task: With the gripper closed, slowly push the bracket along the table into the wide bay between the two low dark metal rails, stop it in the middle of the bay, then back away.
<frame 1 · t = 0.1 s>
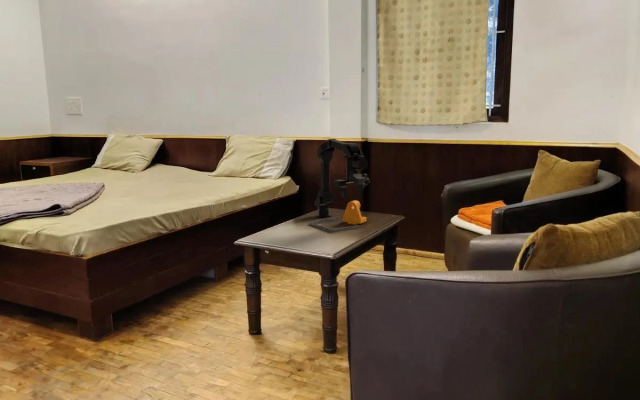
hand: (352, 198, 262), 15 cm above the table, tool pointing down, fingers open, 9 cm apart
bracket: (355, 222, 272), on the table
rail bay: (334, 225, 266), on the table
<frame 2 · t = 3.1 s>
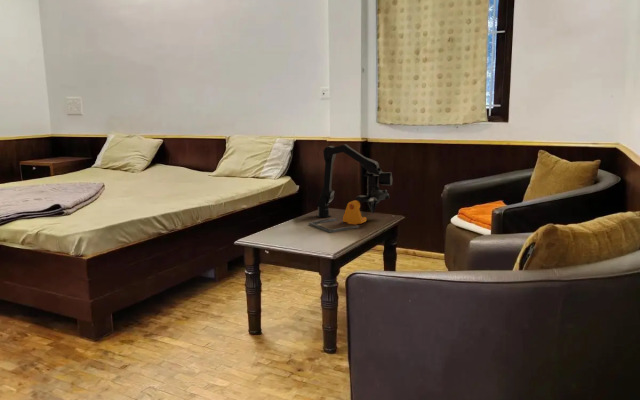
hand: (372, 212, 278), 4 cm above the table, tool pointing down, fingers closed
nothing on the table moved.
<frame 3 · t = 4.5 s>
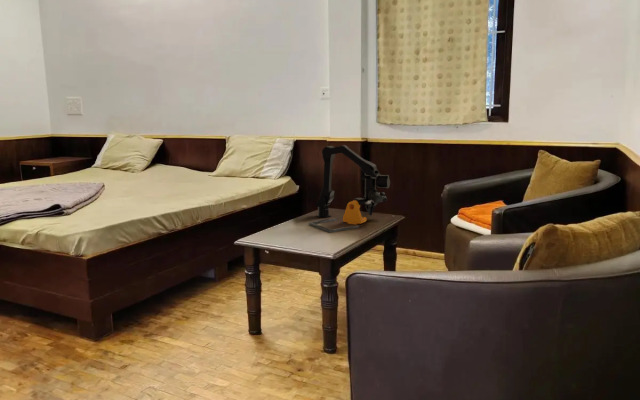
hand: (370, 215, 277), 2 cm above the table, tool pointing down, fingers closed
nothing on the table moved.
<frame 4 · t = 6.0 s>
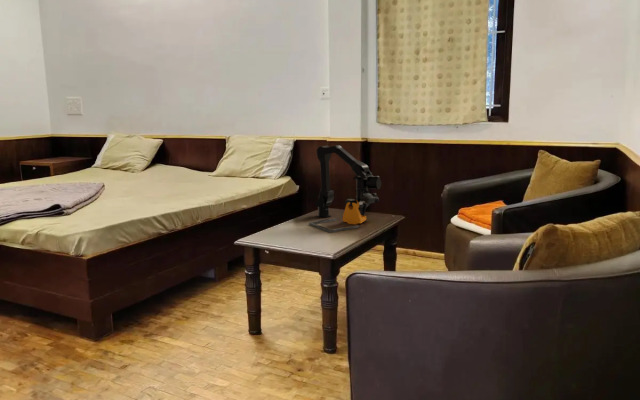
hand: (362, 216, 274), 3 cm above the table, tool pointing down, fingers closed, pressing on bracket
bracket: (355, 222, 272), on the table, touching gripper
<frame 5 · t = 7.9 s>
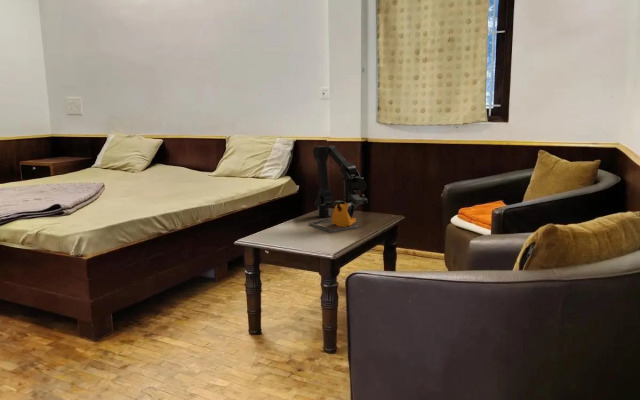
hand: (350, 218, 270), 3 cm above the table, tool pointing down, fingers closed, pressing on bracket
bracket: (344, 224, 268), on the table, touching gripper
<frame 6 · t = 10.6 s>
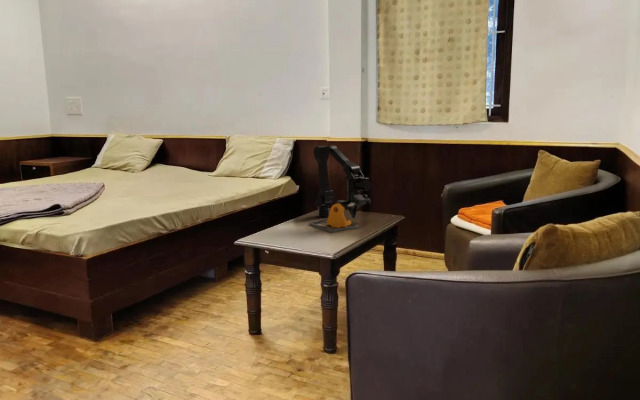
hand: (353, 218, 271), 3 cm above the table, tool pointing down, fingers closed
bracket: (339, 226, 266), on the table
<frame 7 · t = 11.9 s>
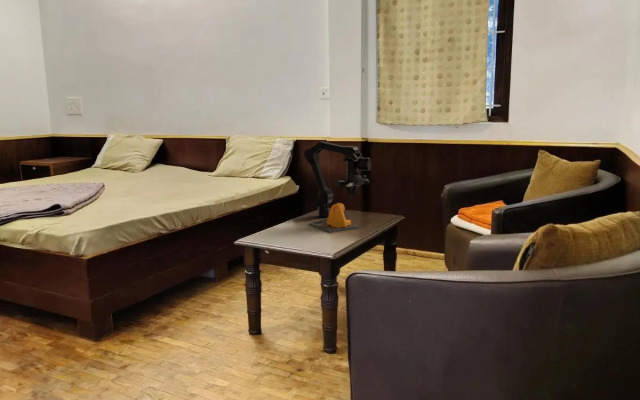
hand: (352, 198, 278), 12 cm above the table, tool pointing down, fingers closed
nothing on the table moved.
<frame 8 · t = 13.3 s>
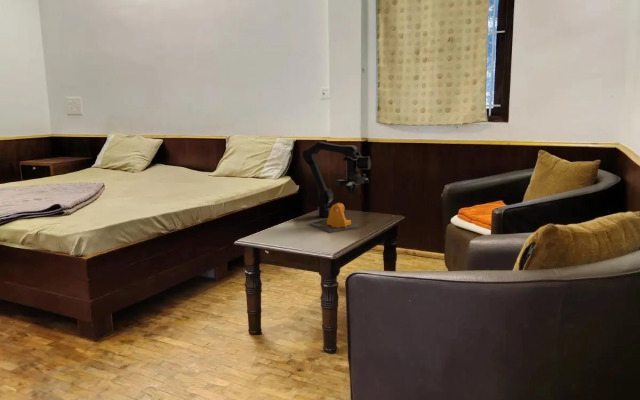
hand: (351, 197, 279), 12 cm above the table, tool pointing down, fingers closed
nothing on the table moved.
at the end: bracket inside the target area on the rail bay (4.1 cm from its centre), point 0.0 cm above the rail bay's base; bracket tilted 0°; bracket moved 10.6 cm from its start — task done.
